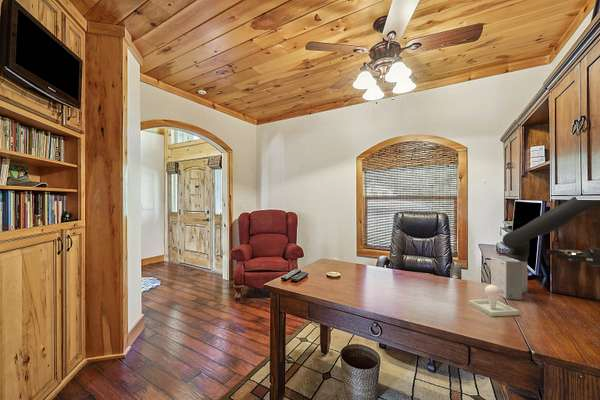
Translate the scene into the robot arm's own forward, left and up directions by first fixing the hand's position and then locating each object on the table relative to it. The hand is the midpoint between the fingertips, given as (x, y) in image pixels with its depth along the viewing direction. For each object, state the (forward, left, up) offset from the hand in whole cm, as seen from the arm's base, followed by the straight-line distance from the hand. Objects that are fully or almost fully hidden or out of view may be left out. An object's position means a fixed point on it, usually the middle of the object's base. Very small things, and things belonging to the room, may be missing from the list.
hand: (551, 253), depth 112 cm
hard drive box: (-26, +4, -28) cm, 39 cm away
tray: (-10, -19, -28) cm, 36 cm away
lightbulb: (-10, -19, -28) cm, 35 cm away
